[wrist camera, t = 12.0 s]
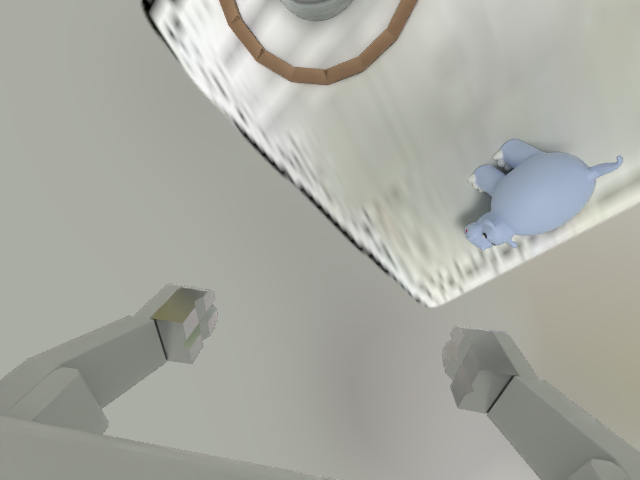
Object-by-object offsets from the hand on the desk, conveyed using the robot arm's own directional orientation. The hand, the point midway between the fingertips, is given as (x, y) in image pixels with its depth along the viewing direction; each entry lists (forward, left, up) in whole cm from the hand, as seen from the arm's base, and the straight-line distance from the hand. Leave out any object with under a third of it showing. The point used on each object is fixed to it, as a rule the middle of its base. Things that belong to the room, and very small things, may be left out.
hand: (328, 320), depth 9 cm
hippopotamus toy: (-22, +2, -31) cm, 39 cm away
